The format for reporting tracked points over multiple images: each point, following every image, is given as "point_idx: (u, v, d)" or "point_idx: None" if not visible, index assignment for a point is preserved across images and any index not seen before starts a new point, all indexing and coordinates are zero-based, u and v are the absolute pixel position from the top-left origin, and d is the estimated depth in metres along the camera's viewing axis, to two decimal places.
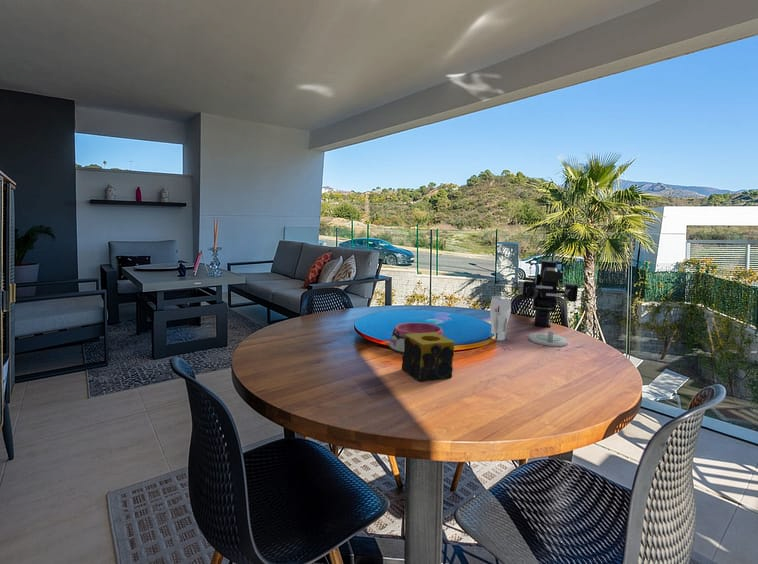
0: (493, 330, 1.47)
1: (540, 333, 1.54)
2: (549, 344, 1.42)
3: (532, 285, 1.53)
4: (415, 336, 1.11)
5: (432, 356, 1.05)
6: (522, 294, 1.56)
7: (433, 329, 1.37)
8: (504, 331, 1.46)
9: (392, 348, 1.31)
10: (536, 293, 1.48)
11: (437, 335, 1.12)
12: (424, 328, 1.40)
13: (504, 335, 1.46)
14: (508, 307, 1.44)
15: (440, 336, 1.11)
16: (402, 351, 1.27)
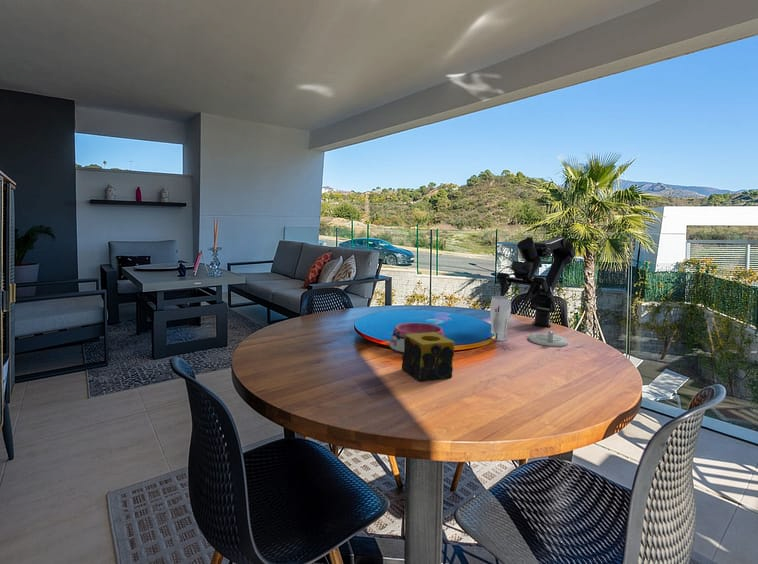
0: (493, 330, 1.47)
1: (540, 333, 1.54)
2: (549, 344, 1.42)
3: (501, 281, 1.58)
4: (415, 336, 1.11)
5: (432, 356, 1.05)
6: None
7: (433, 329, 1.37)
8: (504, 331, 1.46)
9: (392, 348, 1.30)
10: None
11: (437, 335, 1.12)
12: (424, 328, 1.39)
13: (504, 335, 1.46)
14: (508, 307, 1.44)
15: (440, 336, 1.11)
16: (402, 351, 1.27)
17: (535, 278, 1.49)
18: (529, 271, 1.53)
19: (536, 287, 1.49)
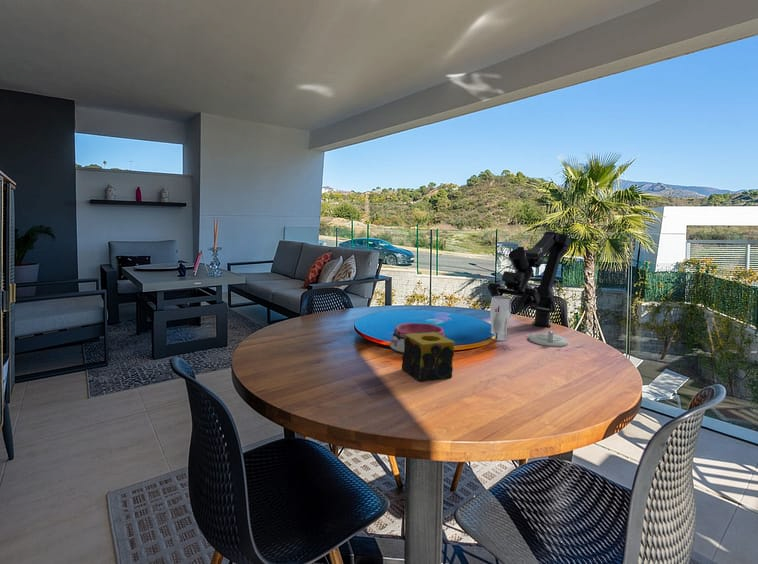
0: (493, 330, 1.47)
1: (540, 333, 1.54)
2: (549, 344, 1.42)
3: (492, 292, 1.54)
4: (415, 336, 1.11)
5: (432, 356, 1.05)
6: None
7: (434, 329, 1.37)
8: (504, 331, 1.46)
9: (393, 349, 1.30)
10: None
11: (437, 335, 1.12)
12: (425, 328, 1.39)
13: (504, 335, 1.46)
14: (508, 307, 1.44)
15: (440, 336, 1.11)
16: (403, 352, 1.27)
17: (526, 289, 1.46)
18: (520, 282, 1.49)
19: (527, 298, 1.46)
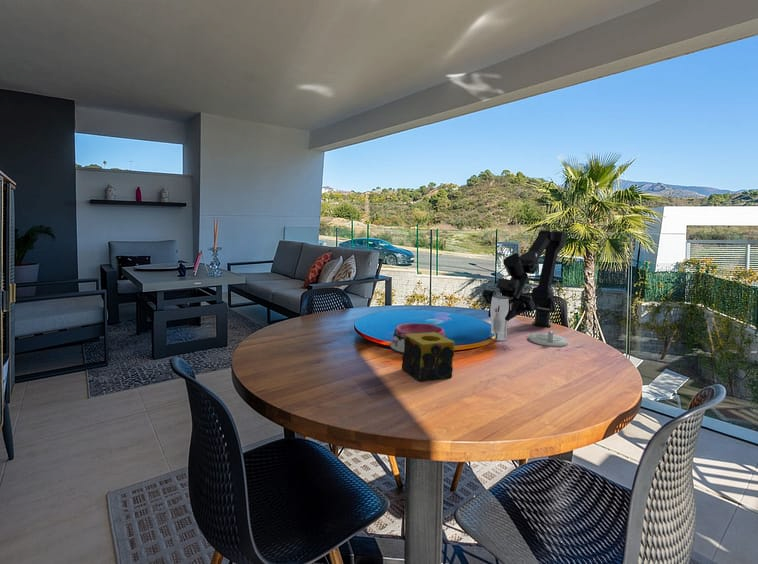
0: (493, 330, 1.47)
1: (540, 333, 1.54)
2: (549, 344, 1.42)
3: (490, 299, 1.52)
4: (415, 336, 1.11)
5: (432, 356, 1.05)
6: None
7: (434, 330, 1.37)
8: (504, 331, 1.46)
9: (393, 349, 1.30)
10: None
11: (437, 335, 1.12)
12: (425, 329, 1.39)
13: (504, 335, 1.46)
14: (508, 307, 1.44)
15: (440, 336, 1.11)
16: None
17: (521, 296, 1.44)
18: (515, 289, 1.47)
19: (519, 305, 1.45)
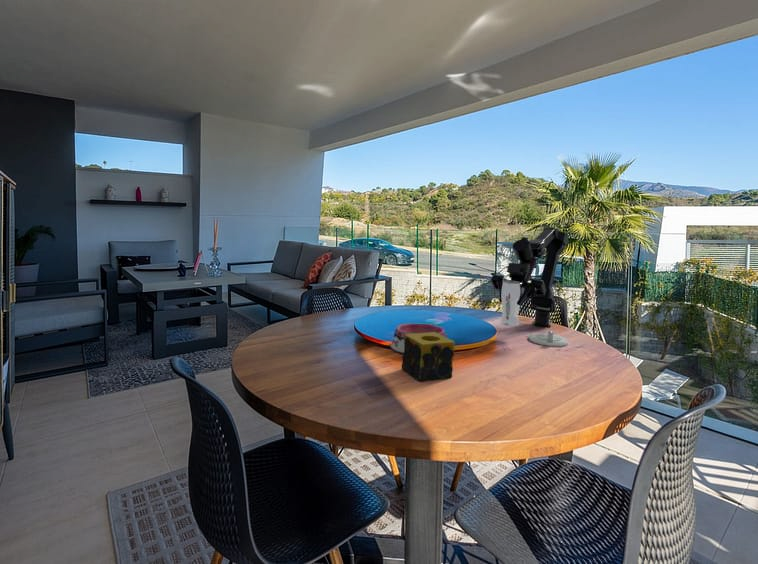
0: (505, 315, 1.46)
1: (540, 333, 1.54)
2: (549, 344, 1.42)
3: (500, 285, 1.50)
4: (415, 336, 1.11)
5: (432, 356, 1.05)
6: None
7: (435, 330, 1.36)
8: (516, 316, 1.45)
9: (394, 349, 1.29)
10: None
11: (437, 335, 1.12)
12: (426, 329, 1.39)
13: (516, 320, 1.45)
14: (520, 292, 1.43)
15: (440, 336, 1.11)
16: None
17: (533, 280, 1.43)
18: (526, 273, 1.46)
19: (531, 289, 1.44)
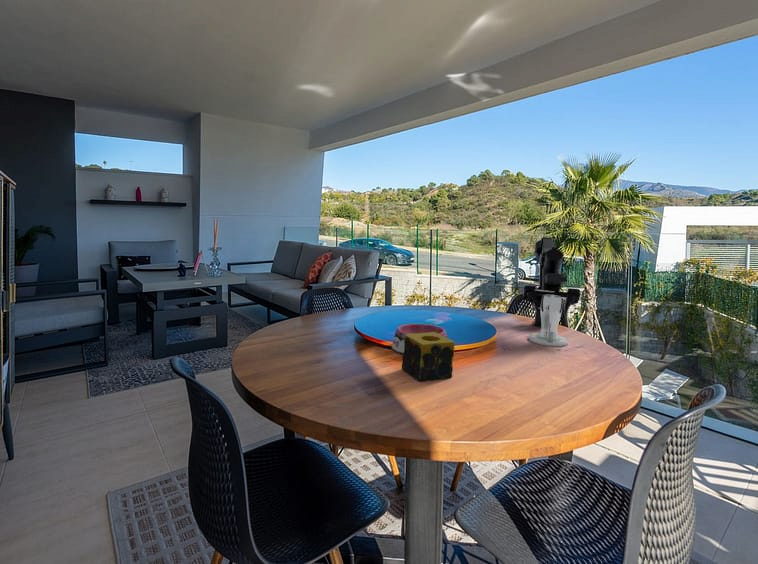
0: (548, 329, 1.45)
1: None
2: (549, 344, 1.42)
3: (533, 295, 1.49)
4: (415, 336, 1.11)
5: (432, 356, 1.05)
6: (523, 297, 1.54)
7: (436, 330, 1.36)
8: None
9: (394, 350, 1.29)
10: (535, 310, 1.47)
11: (437, 335, 1.12)
12: (427, 329, 1.38)
13: None
14: None
15: (440, 336, 1.11)
16: None
17: (571, 290, 1.46)
18: None
19: None
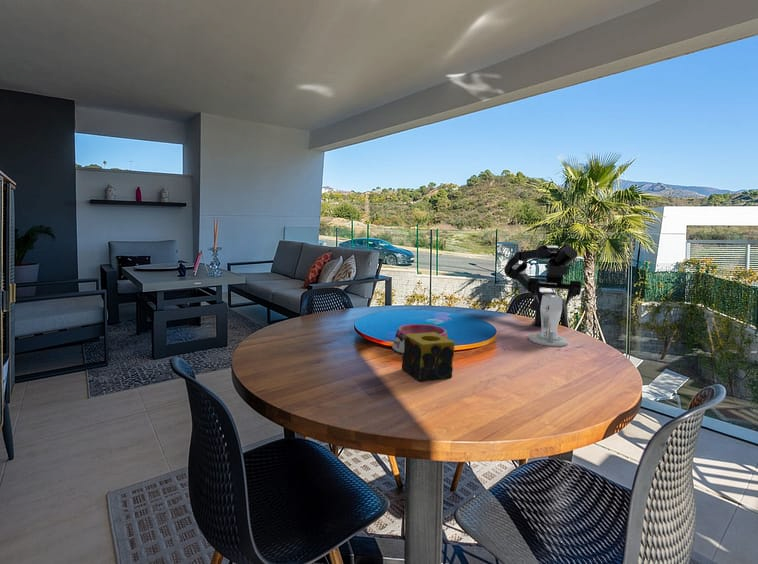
0: (548, 329, 1.45)
1: None
2: (549, 344, 1.42)
3: (536, 287, 1.58)
4: (415, 336, 1.11)
5: (432, 356, 1.05)
6: (527, 289, 1.63)
7: (437, 331, 1.35)
8: None
9: (395, 350, 1.29)
10: (538, 301, 1.57)
11: (437, 335, 1.12)
12: (428, 330, 1.38)
13: None
14: None
15: (440, 336, 1.11)
16: None
17: (572, 282, 1.54)
18: (562, 275, 1.57)
19: None
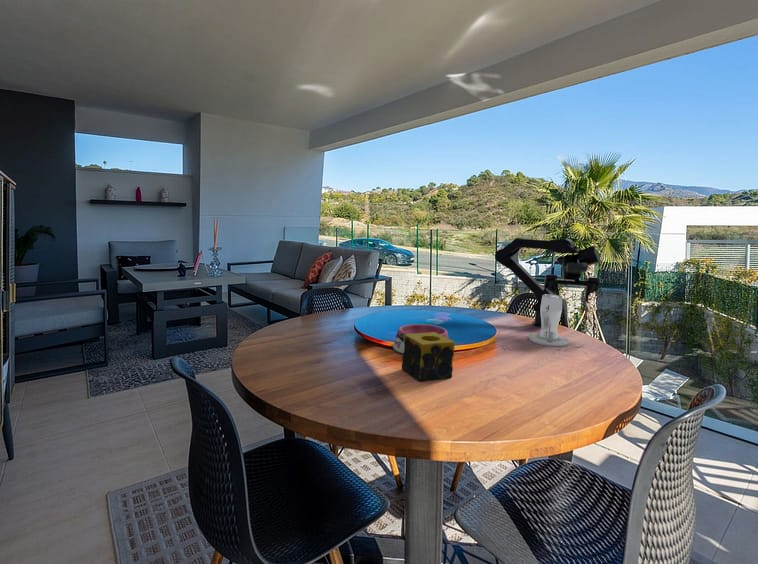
0: (548, 329, 1.45)
1: None
2: (549, 344, 1.42)
3: (554, 283, 1.56)
4: (415, 336, 1.11)
5: (432, 356, 1.05)
6: (544, 286, 1.61)
7: (438, 331, 1.35)
8: None
9: (396, 350, 1.28)
10: None
11: (437, 335, 1.12)
12: (428, 330, 1.37)
13: None
14: None
15: (440, 336, 1.11)
16: None
17: (590, 278, 1.54)
18: None
19: None
